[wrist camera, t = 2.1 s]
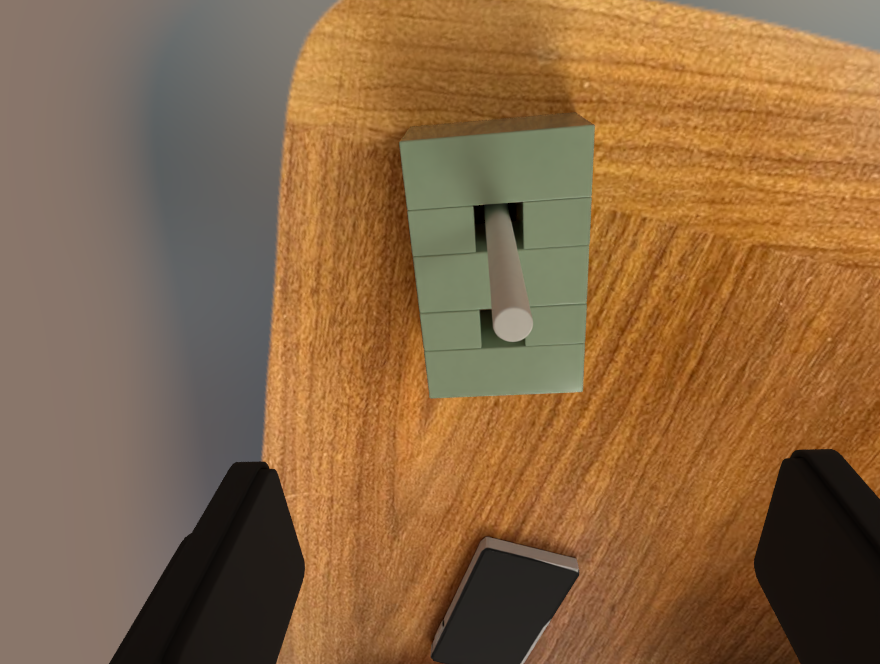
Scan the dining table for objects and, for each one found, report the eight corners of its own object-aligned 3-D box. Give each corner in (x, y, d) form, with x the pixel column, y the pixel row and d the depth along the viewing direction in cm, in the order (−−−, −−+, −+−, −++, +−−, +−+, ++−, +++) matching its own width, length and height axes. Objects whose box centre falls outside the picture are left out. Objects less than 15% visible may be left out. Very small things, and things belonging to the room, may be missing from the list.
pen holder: (569, 349, 32) (583, 392, 28) (434, 356, 33) (429, 399, 29) (576, 111, 26) (595, 124, 22) (409, 126, 27) (398, 141, 23)
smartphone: (584, 571, 40) (515, 679, 47) (581, 557, 41) (514, 665, 48) (481, 546, 39) (427, 660, 46) (481, 533, 40) (428, 646, 47)
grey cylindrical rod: (484, 213, 29) (494, 343, 16) (483, 191, 28) (491, 308, 16) (506, 212, 28) (533, 341, 16) (506, 189, 28) (533, 306, 16)
